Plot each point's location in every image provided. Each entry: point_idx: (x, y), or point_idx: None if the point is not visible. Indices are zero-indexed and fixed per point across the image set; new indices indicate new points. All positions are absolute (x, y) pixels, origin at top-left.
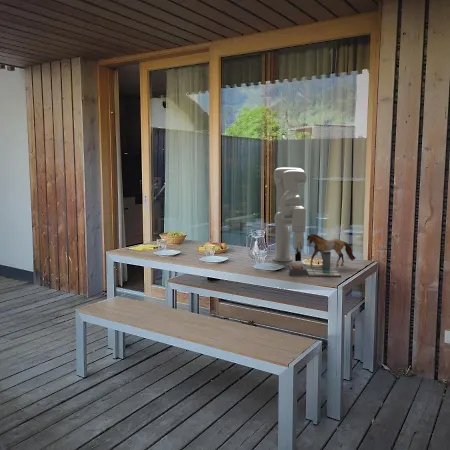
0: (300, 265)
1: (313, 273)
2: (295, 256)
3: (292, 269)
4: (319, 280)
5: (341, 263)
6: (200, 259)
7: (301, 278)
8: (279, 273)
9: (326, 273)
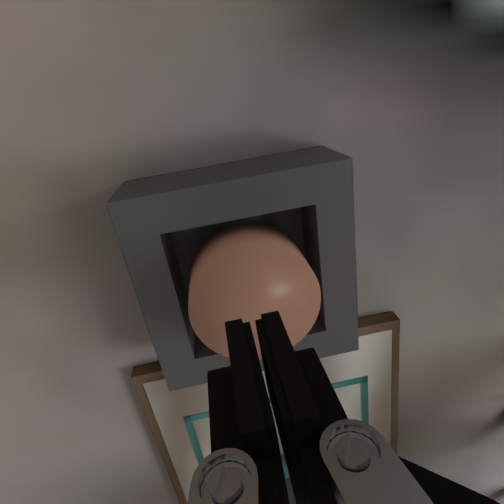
0: None
1: None
2: (233, 386)
3: (116, 231)
4: (22, 456)
5: None
6: None
7: (22, 315)
8: (192, 9)
9: None
